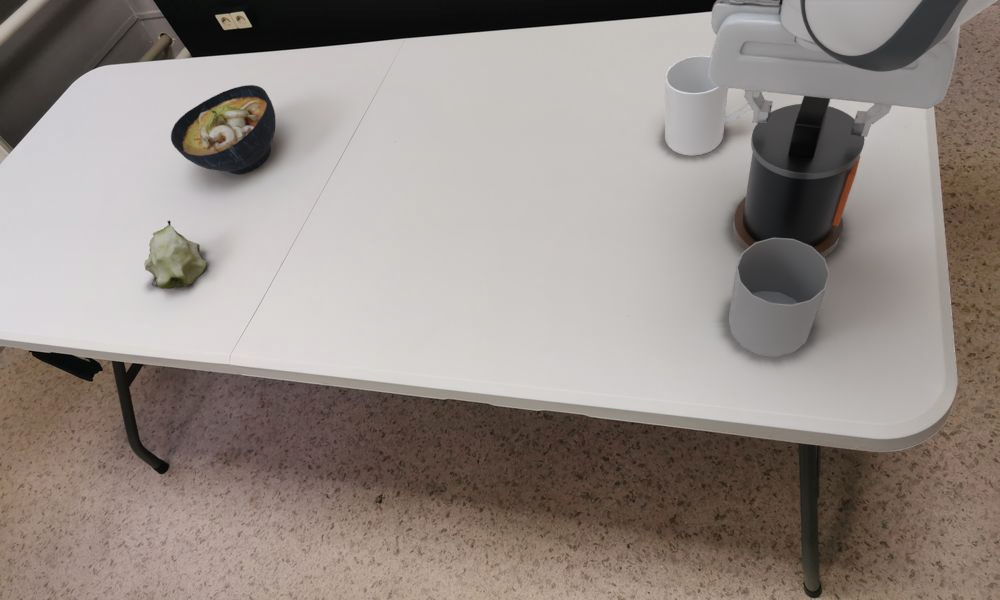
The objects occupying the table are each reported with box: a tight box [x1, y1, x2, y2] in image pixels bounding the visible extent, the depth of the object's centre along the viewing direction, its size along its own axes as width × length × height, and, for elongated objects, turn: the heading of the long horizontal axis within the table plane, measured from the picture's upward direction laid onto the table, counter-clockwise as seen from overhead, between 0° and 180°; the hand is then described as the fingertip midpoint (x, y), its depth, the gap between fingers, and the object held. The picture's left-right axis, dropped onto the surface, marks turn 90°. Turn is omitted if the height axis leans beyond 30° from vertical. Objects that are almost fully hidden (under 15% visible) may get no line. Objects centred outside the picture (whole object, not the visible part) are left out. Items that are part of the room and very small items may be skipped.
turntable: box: [732, 196, 844, 258], centre depth 75 cm, size 12×12×2 cm
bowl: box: [170, 84, 277, 175], centre depth 104 cm, size 17×17×10 cm
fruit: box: [143, 220, 207, 290], centre depth 92 cm, size 9×9×8 cm
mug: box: [664, 55, 763, 157], centre depth 82 cm, size 12×8×10 cm, turn 81°
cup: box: [727, 238, 831, 358], centre depth 64 cm, size 8×8×10 cm
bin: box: [743, 96, 866, 247], centre depth 67 cm, size 11×11×17 cm
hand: (808, 125), depth 62 cm, fingers open, 8 cm apart
